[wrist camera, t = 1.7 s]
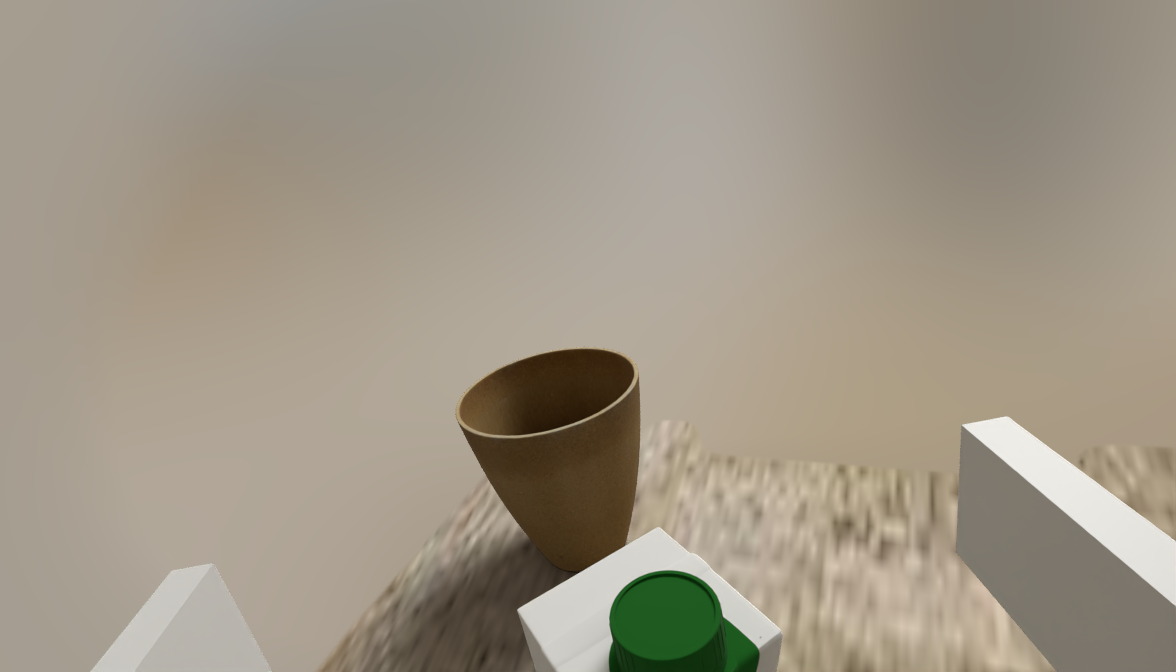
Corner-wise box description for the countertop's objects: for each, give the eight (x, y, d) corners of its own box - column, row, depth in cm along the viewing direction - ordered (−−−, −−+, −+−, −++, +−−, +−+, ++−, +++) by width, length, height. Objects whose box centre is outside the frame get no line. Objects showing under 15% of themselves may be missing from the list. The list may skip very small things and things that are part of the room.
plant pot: (691, 502, 57) (666, 348, 51) (622, 628, 46) (580, 448, 40) (558, 478, 65) (522, 341, 59) (470, 581, 54) (415, 424, 47)
